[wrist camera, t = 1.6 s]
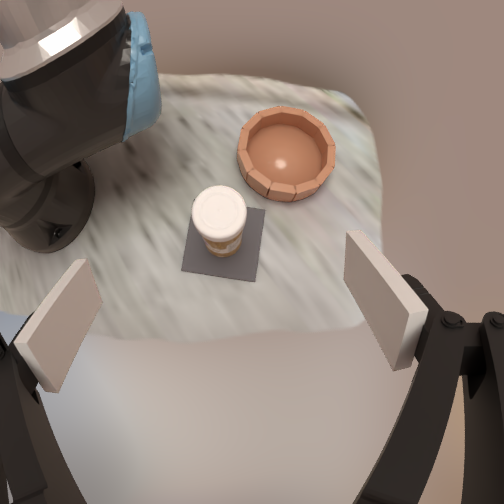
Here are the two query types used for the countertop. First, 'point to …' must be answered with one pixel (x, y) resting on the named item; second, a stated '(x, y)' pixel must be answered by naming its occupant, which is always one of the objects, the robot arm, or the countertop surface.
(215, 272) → the rubber mat
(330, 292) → the countertop surface
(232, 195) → the sprinkles bottle
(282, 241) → the countertop surface
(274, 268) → the countertop surface
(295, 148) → the terracotta bowl
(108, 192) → the countertop surface
